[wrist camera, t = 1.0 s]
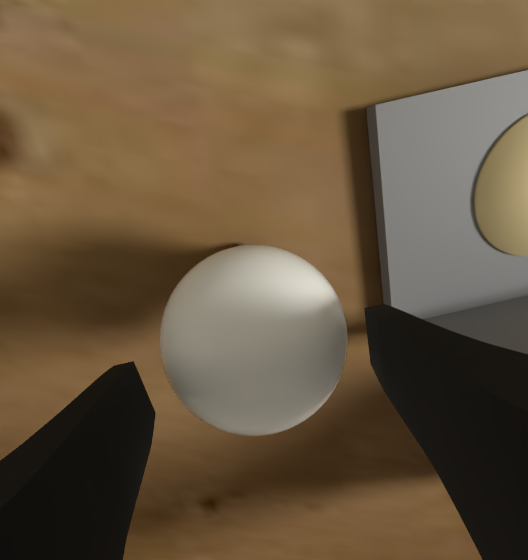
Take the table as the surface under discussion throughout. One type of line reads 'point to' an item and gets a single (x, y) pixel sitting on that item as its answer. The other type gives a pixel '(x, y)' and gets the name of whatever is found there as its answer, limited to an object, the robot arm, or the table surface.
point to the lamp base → (456, 207)
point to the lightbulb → (253, 340)
